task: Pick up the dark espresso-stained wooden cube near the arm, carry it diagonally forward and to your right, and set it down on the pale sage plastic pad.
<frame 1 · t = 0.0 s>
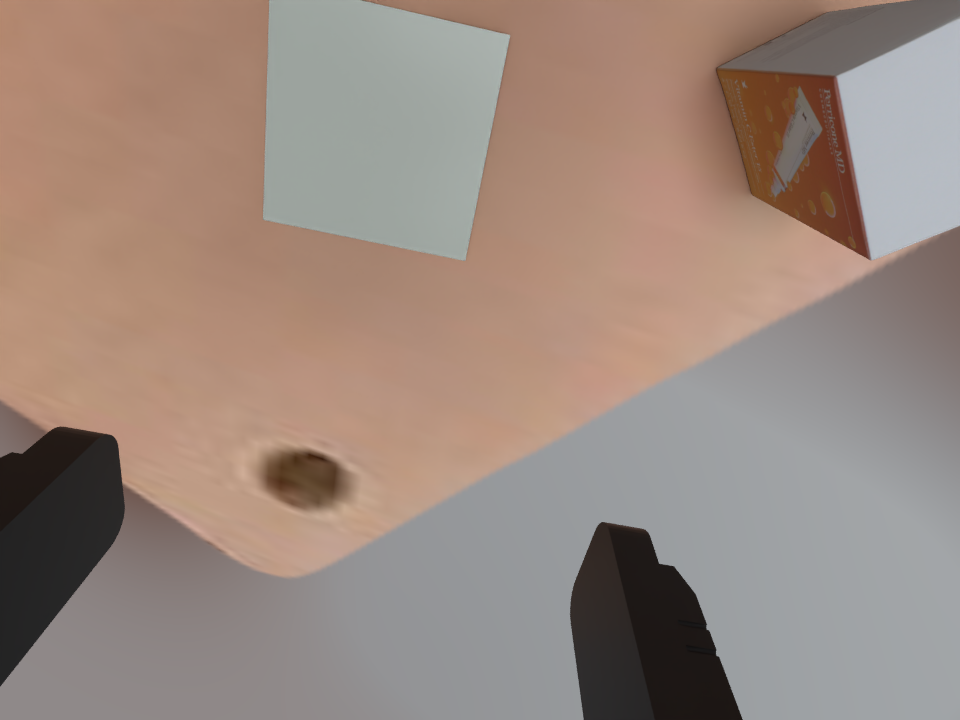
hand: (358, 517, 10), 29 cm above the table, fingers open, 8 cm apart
small box: (784, 110, 34), on the table
pad: (379, 133, 34), on the table
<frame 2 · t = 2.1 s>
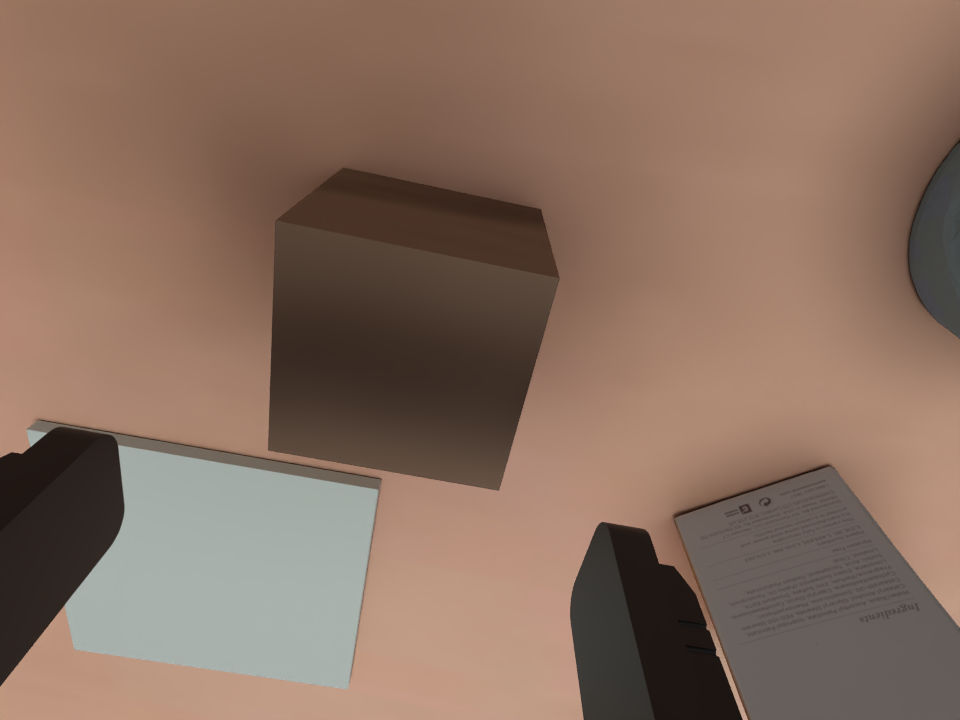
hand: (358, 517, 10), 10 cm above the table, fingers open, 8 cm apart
cube: (427, 280, 19), on the table
small box: (770, 552, 24), on the table
pad: (216, 567, 25), on the table
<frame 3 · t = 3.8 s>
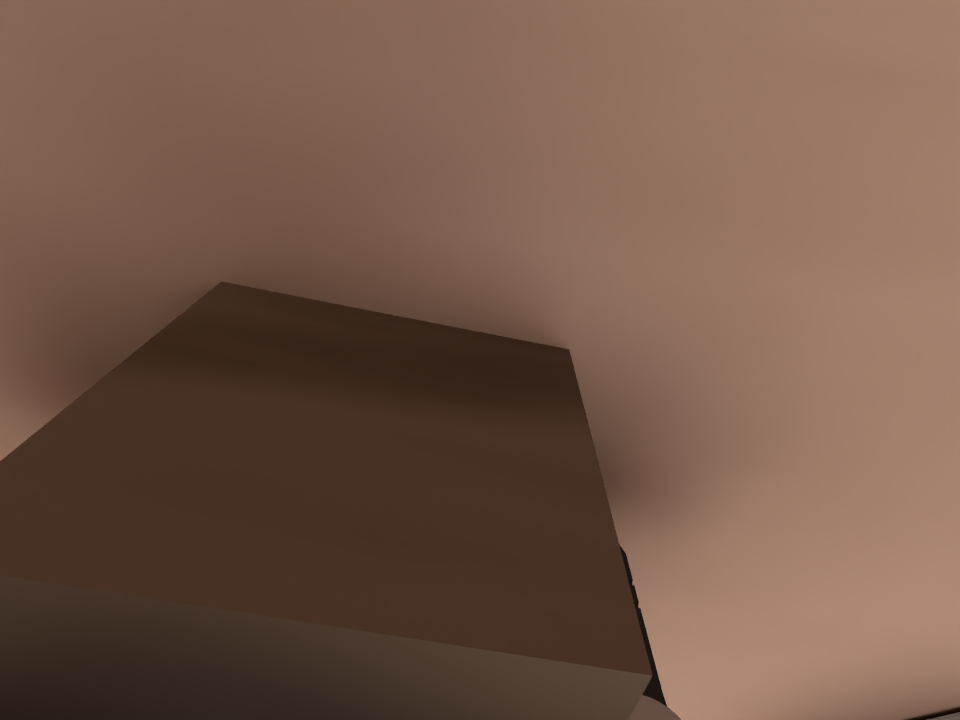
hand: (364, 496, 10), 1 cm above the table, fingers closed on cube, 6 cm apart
cube: (378, 455, 11), on the table, touching gripper
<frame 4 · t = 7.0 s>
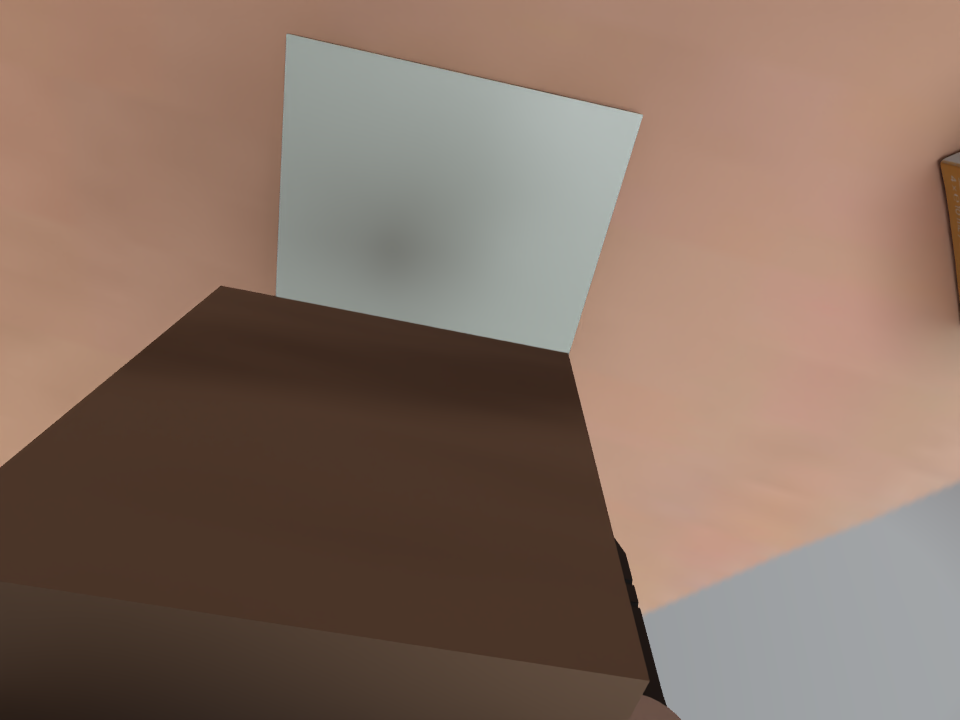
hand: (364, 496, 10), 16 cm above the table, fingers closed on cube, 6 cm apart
cube: (377, 458, 11), point 15 cm above the table, touching gripper
pad: (439, 244, 24), on the table
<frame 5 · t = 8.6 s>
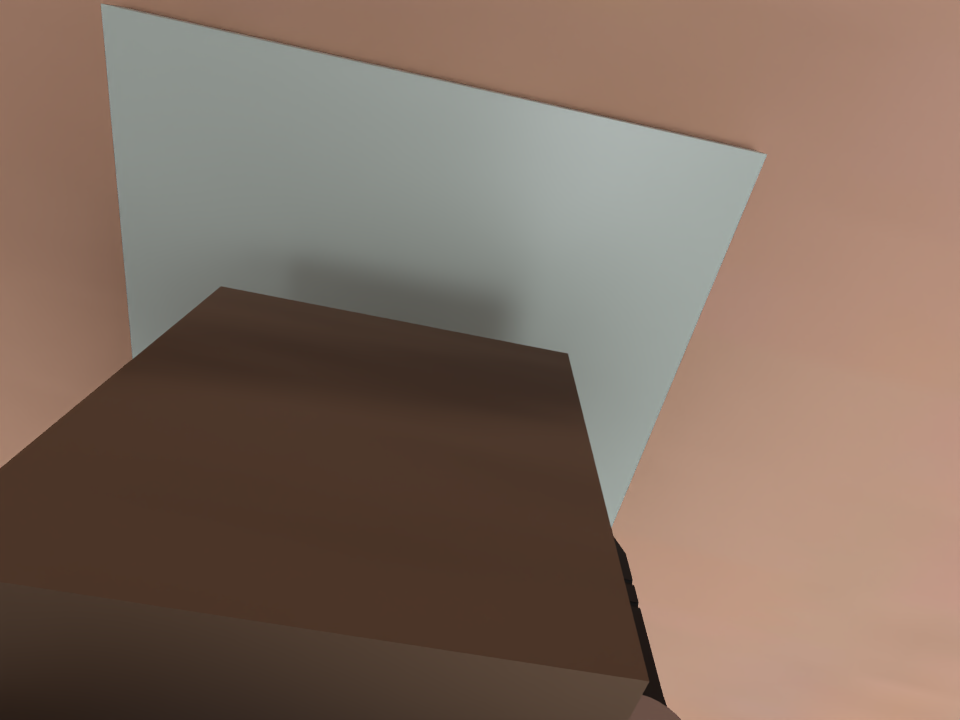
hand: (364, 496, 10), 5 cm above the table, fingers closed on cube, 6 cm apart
cube: (377, 458, 11), point 4 cm above the table, touching gripper
pad: (404, 360, 15), on the table
when the fingers open (3 cm above the table, at t = 10.1 s): cube stays where it is, resting on pad.
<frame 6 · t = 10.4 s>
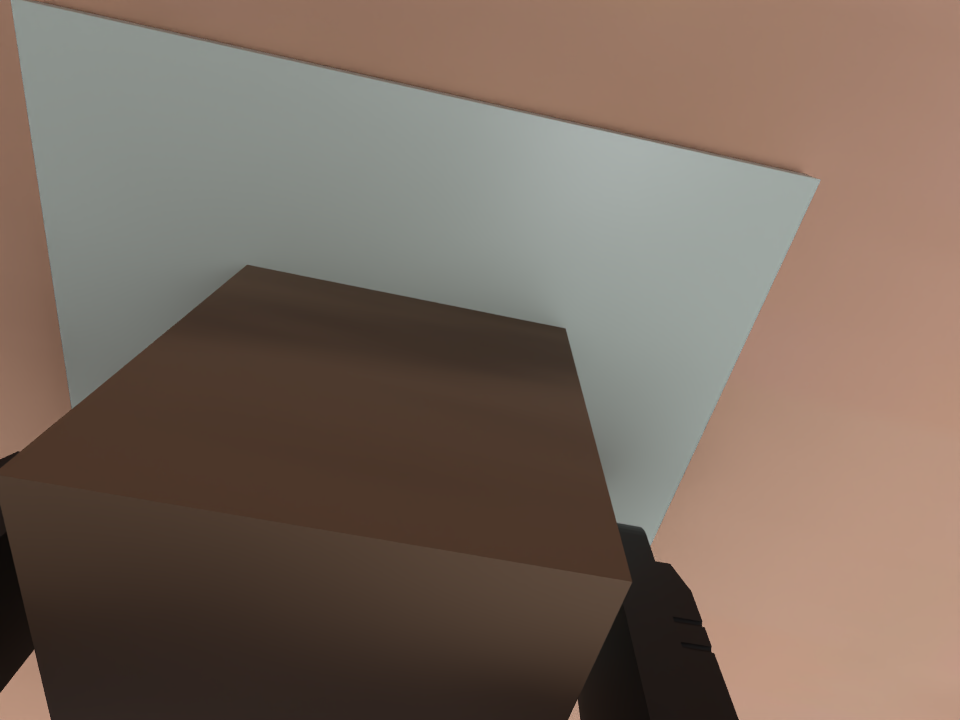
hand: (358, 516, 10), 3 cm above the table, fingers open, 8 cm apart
cube: (388, 428, 12), point 1 cm above the table, touching pad
pad: (389, 411, 13), on the table
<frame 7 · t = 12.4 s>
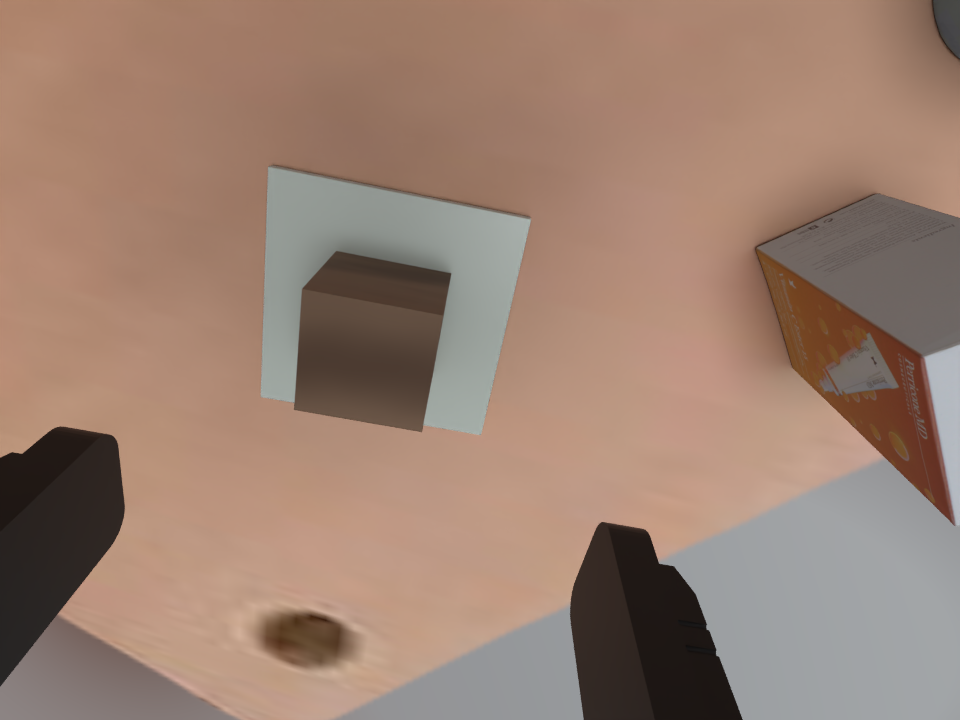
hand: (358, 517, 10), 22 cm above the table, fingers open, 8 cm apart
cube: (387, 315, 31), point 1 cm above the table, touching pad
small box: (828, 285, 31), on the table
pad: (387, 310, 32), on the table
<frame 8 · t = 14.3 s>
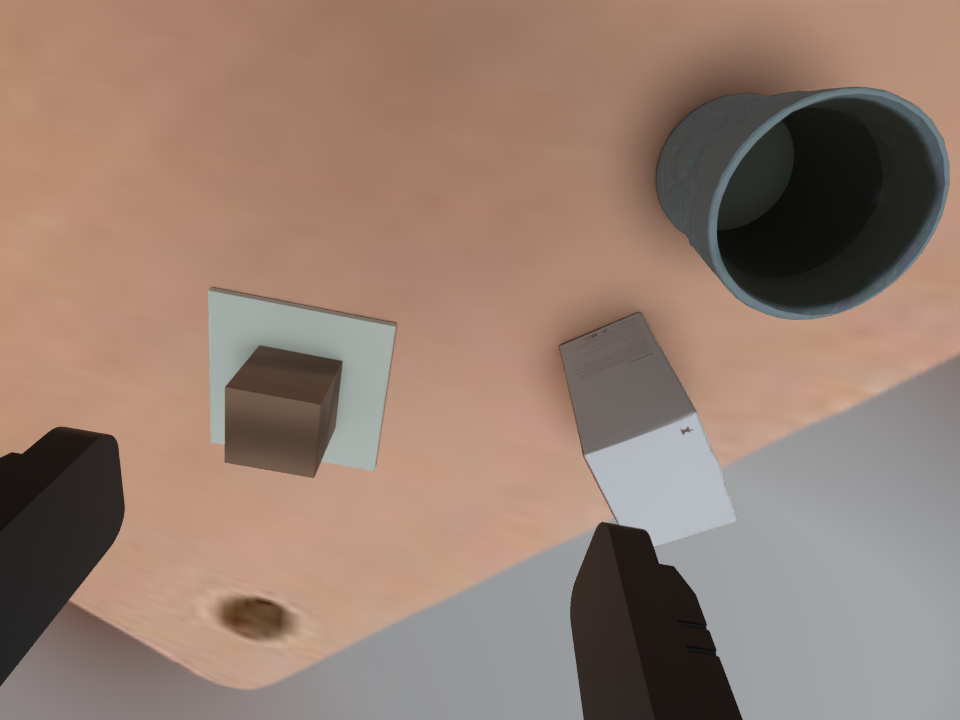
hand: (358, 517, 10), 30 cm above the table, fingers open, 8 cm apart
cube: (298, 388, 43), point 1 cm above the table, touching pad
grey cup: (727, 168, 36), on the table
small box: (617, 371, 43), on the table
pad: (300, 383, 44), on the table
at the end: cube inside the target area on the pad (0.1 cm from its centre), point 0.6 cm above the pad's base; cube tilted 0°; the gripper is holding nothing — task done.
